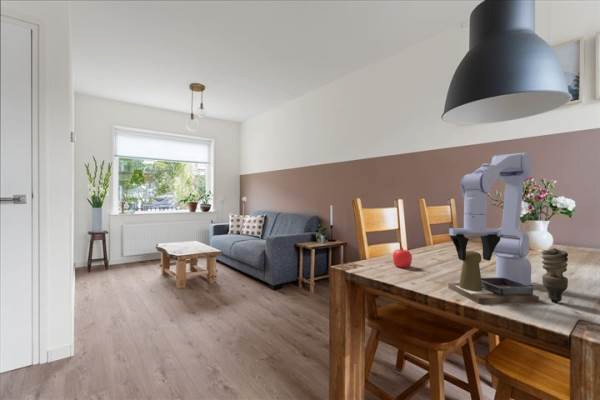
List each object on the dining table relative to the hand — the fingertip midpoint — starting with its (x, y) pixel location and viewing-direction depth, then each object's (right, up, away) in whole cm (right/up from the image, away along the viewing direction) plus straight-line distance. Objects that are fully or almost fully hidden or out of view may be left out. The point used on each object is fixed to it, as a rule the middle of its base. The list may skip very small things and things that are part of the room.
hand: (474, 259), depth 82 cm
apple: (-9, -10, +33) cm, 36 cm away
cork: (0, -9, +1) cm, 9 cm away
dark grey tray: (+9, -9, +1) cm, 13 cm away
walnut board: (+5, -11, +1) cm, 12 cm away
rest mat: (0, -9, 0) cm, 9 cm away
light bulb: (+19, -11, -5) cm, 23 cm away
